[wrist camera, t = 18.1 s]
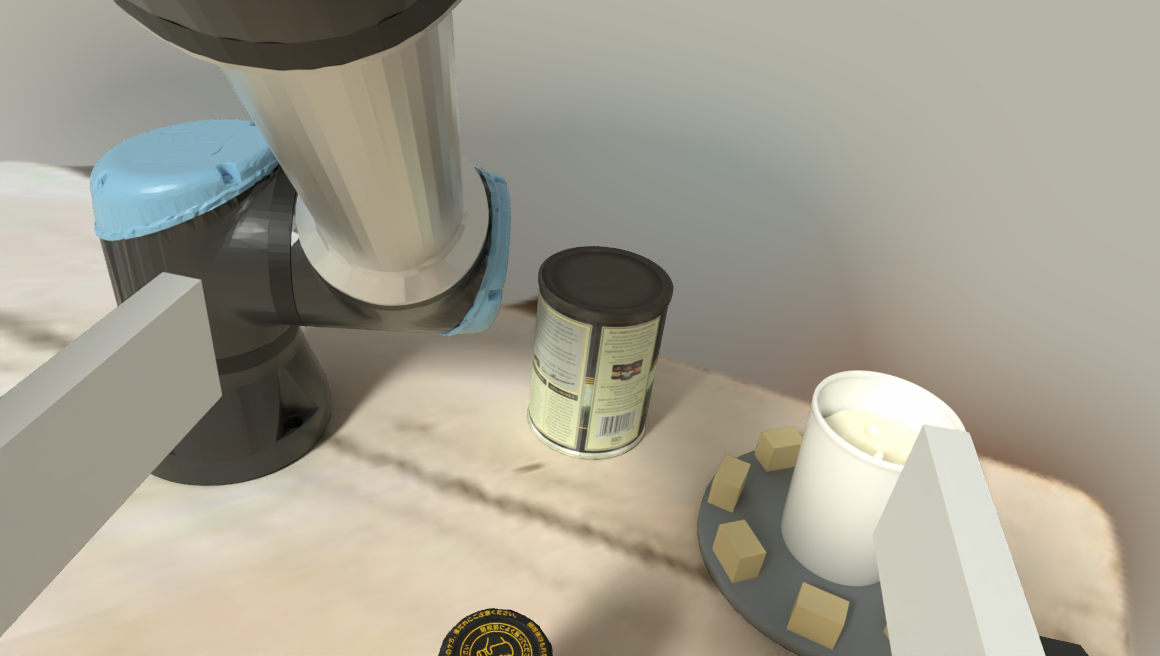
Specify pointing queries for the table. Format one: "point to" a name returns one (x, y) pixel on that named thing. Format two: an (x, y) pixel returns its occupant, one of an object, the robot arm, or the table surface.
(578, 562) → the table surface
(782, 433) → the ring seat
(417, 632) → the table surface
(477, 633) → the condiment
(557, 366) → the coffee can
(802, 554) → the candle holder
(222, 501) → the table surface
